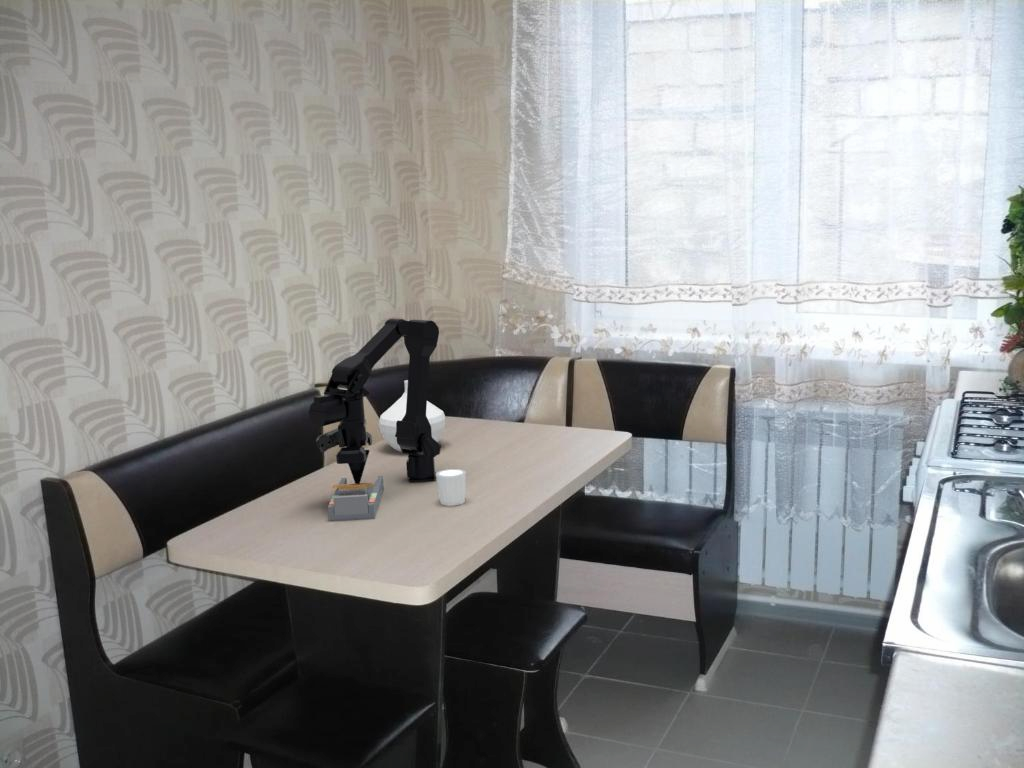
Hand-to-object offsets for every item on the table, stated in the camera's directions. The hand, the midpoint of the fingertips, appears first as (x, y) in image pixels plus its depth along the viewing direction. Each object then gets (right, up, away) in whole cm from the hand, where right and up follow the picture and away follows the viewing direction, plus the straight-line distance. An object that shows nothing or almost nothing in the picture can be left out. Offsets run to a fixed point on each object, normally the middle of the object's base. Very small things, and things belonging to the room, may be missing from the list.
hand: (357, 483), depth 246 cm
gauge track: (0, -5, -2) cm, 5 cm away
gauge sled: (0, -4, -8) cm, 9 cm away
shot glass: (+22, -4, -4) cm, 23 cm away
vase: (+9, +5, +47) cm, 48 cm away
